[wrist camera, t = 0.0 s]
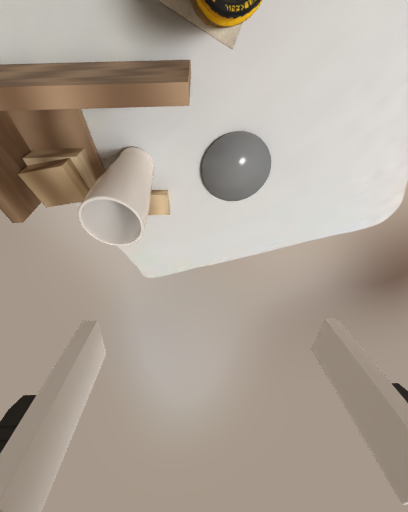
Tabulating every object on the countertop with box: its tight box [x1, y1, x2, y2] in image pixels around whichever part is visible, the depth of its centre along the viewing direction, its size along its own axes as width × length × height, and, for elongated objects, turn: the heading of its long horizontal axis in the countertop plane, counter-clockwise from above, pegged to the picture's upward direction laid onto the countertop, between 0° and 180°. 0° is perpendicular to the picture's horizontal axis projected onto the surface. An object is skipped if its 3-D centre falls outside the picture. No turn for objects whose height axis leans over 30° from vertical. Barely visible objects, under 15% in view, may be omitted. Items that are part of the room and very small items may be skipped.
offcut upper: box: [18, 158, 90, 207], centre depth 28 cm, size 6×5×2 cm
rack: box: [0, 60, 191, 223], centre depth 23 cm, size 24×15×16 cm, turn 91°
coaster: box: [202, 131, 271, 201], centre depth 33 cm, size 11×11×1 cm
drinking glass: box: [78, 147, 154, 246], centre depth 27 cm, size 7×7×15 cm
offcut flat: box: [148, 190, 170, 215], centre depth 36 cm, size 8×4×2 cm, turn 89°
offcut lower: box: [22, 148, 97, 189], centre depth 30 cm, size 7×6×3 cm
